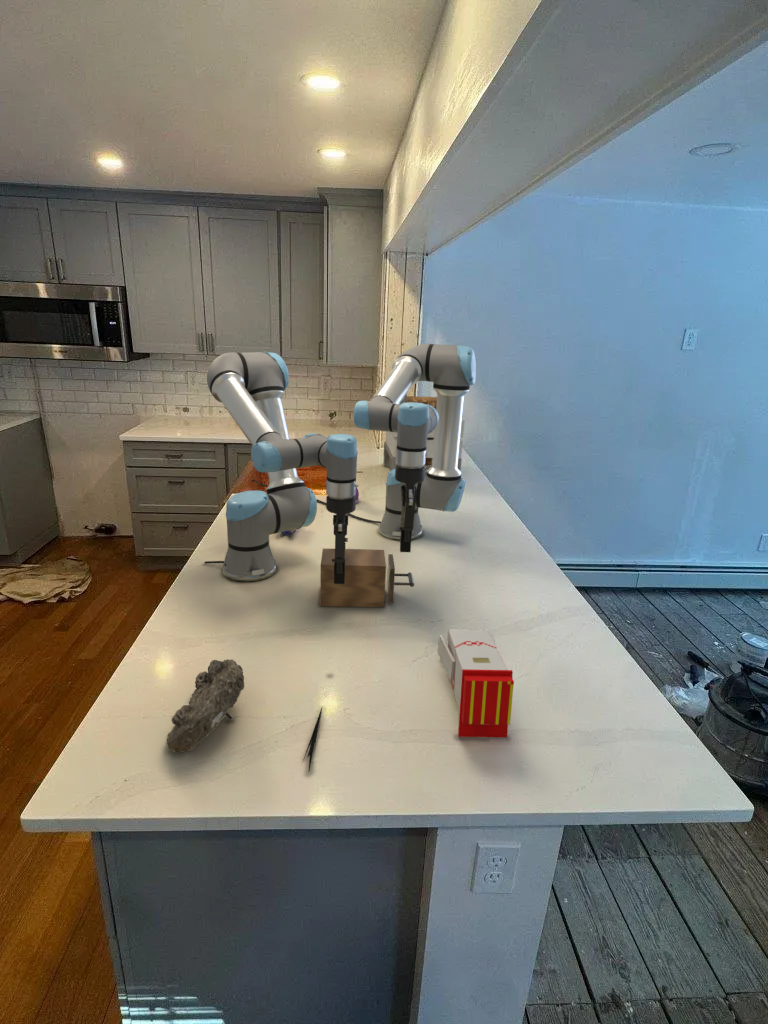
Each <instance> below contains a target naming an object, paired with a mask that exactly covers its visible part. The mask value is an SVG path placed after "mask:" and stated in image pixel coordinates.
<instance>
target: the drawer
mask: <svg viewBox="0 0 768 1024" xmlns="http://www.w3.org/2000/svg"><path fill="white" fill-rule="evenodd" d="M395 577H407V579H408V582H399V581H397V582H395ZM395 586H407V587H410V588H413V587H415V581H414V577H413V573H412V572H411V571H410V572H408V573H396V565H395V560H394V554H393V553H392V554H391V553H388V555H387V570H386V593H387V601H388V603H392V604H393V603H394V593H395Z"/></svg>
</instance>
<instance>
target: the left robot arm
mask: <svg viewBox="0 0 768 1024" xmlns="http://www.w3.org/2000/svg"><path fill="white" fill-rule="evenodd" d="M289 374H290V373H289V369H288V367H287V363H286V362H285V360H284V359H283V357H282V356H281V355H279V354H278V353H276V352H268V351H253V352H252V351H247V352H235V351H233V352H231V351H230V352H225V353H222V354H221V355H219V356H217V357H216V358H215V359H214V360H212V362H211V364H210V365H209V367H208V370H207V373H206V383H207V388H208V390H209V392H210V394H211V396H212V397H213V398H214V400H216V401H217V402H219V403H222V405H223V406H224V407H225V409H226V410H227V412H228V413H229V414H230V416H231V417H232V419H233V421H234V422H235V423H236V424H237V426H238V427H239V429H240V431H241V432H242V433H243V435H244V436H245V438H246V439H247V441H248V442H249V444H250V445H251V451H250V457H251V462H252V465H253V468H254V469H255V470H256V471H257V472H259V473H267V477H268V481H269V483H268V484H267V485H268V487H266V489H265V491H263V490H260V489H259V490H258V489H254V490H251V489H250V490H245V491H241V492H237V493H235V494H233V495H232V496H230V498H229V499H228V500H227V501H226V506H225V508H226V509H225V518H226V530H227V531H226V532H227V550H226V554H225V556H224V560H207V561H206V560H205V561H204V562H203V563H204V565H208V564H222V573H223V576H224V577H225V578H227V579H229V580H232V581H234V582H235V581H236V582H246V583H248V582H258V581H262V580H265V579H268V578H269V577H271V576H273V575H274V574H275V573H276V571H277V562H276V559H275V558H274V556H273V552H272V549H271V546H270V536H271V535H274V534H281V532H285V531H290V530H294V529H295V530H301V529H302V528H305V527H309V526H310V525H312V524H313V523H314V521H315V519H316V516H317V513H318V501H316V499H317V497H316V493H314V491H313V490H312V489H311V488H309V487H306V484H305V481H304V480H303V479H301V478H300V477H299V475H298V471H297V469H300V468H301V469H302V468H307V467H314V466H319V467H322V468H324V469H326V481H325V488H326V489H325V494H326V495H327V496H326V498H325V501H326V502H325V503H326V505H325V508H326V511H327V512H328V513H331V514H333V517H332V525H333V535H334V549H335V558H334V559H332V562H334V584H344V582H345V558H344V556H345V549H346V545H347V543H348V542H349V538H348V537H346V536H347V535H348V525H349V515H348V514H347V513H350V514H353V512H355V511H356V504H357V503H356V497H355V496H354V495H355V494H356V488H355V487H357V488H359V483H358V482H357V468H358V466H357V465H358V440H357V437H355V436H354V435H352V434H346V433H334V434H330V435H328V436H326V435H323V434H320V433H315V432H311V433H310V432H309V433H307V434H305V435H304V436H303V437H298V438H290V435H289V430H288V429H289V428H288V425H287V420H286V416H285V411H284V407H283V403H282V402H283V401H282V399H283V398H284V396H285V395H286V393H285V390H287V388H288V386H289V383H290V381H289V379H290V375H289Z"/></svg>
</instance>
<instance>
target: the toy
mask: <svg viewBox="0 0 768 1024" xmlns="http://www.w3.org/2000/svg"><path fill="white" fill-rule="evenodd" d="M446 640H447V643H446V641H445V639H444V636H443V635H442V634H439V637H438V646H437V656H438V657H439V659H440V661H441V663H442V666H443V668H444V670H445V672H446V674H447V677H448V679H449V681H450V684H451V687H452V690H453V693H454V697H455V701H456V705H457V708H458V711H459V714H458V715H459V716H458V730H457V731H458V732H457V737H458V738H508V731H509V726H510V725H511V717H512V707H513V697H514V696H513V695H514V684H515V680H514V679H513V673H514V671H513V670H512V669H508V667H507V665H506V662H505V661H504V659H503V658H502V655H501V653H500V651H499V649H498V647H497V643H496V639H495V637H494V635H493V634H491V632H490V631H489V629H467V628H466V629H465V628H463V629H461V628H460V629H459V628H448V630H447V639H446Z"/></svg>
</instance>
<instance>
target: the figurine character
mask: <svg viewBox="0 0 768 1024" xmlns="http://www.w3.org/2000/svg"><path fill="white" fill-rule="evenodd" d="M295 531H296V529H294V530H290V531H285V532H280V537H284V534H288V537H289V538H290V537H292V534H294V533H295Z"/></svg>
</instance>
